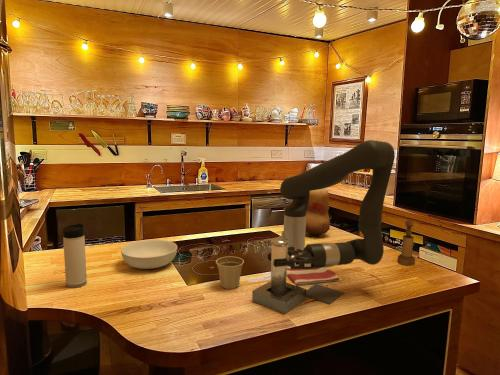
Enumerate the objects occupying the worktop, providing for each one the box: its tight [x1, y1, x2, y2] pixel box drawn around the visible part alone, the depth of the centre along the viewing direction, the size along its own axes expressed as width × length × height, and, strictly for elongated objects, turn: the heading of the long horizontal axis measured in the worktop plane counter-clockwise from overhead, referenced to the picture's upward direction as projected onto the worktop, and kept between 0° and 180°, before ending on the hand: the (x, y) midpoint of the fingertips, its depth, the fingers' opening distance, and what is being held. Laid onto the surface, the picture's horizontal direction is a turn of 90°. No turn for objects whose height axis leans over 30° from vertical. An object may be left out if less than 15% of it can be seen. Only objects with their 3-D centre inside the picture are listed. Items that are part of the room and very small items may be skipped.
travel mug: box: [62, 223, 88, 289], centre depth 120 cm, size 6×7×20 cm
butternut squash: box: [305, 188, 331, 237], centre depth 182 cm, size 14×13×25 cm
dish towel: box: [287, 267, 340, 287], centre depth 136 cm, size 17×23×3 cm
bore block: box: [251, 280, 308, 315], centre depth 112 cm, size 12×12×4 cm
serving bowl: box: [120, 239, 178, 270], centre depth 139 cm, size 21×21×7 cm
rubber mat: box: [306, 284, 344, 305], centre depth 117 cm, size 10×10×1 cm
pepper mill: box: [396, 219, 416, 266], centre depth 146 cm, size 7×6×18 cm
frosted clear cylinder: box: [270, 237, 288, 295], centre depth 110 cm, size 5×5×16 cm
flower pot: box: [215, 255, 245, 290], centre depth 122 cm, size 9×9×9 cm
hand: (271, 259), depth 109 cm, fingers closed on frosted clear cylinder, 4 cm apart
